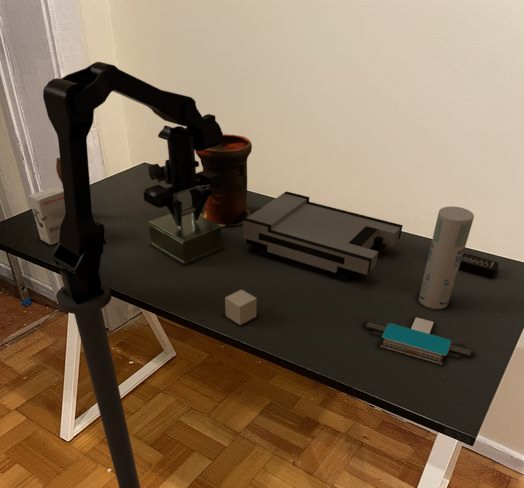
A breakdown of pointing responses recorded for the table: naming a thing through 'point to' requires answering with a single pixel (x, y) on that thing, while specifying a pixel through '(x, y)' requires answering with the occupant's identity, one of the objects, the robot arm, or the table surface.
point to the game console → (318, 236)
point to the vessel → (227, 180)
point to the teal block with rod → (417, 341)
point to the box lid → (185, 225)
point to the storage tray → (185, 245)
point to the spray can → (445, 256)
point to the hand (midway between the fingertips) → (187, 222)
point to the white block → (240, 307)
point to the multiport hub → (478, 266)
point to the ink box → (49, 213)
